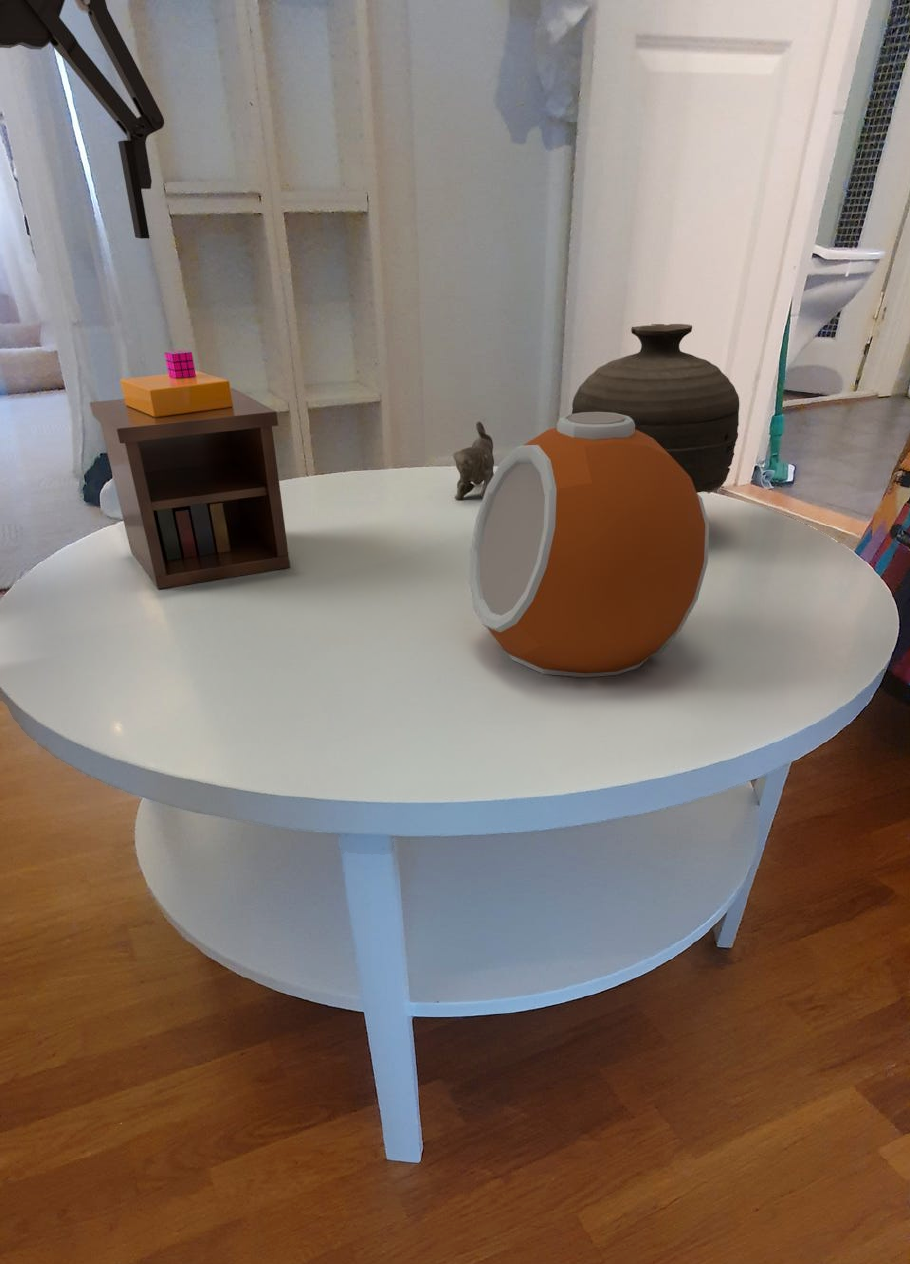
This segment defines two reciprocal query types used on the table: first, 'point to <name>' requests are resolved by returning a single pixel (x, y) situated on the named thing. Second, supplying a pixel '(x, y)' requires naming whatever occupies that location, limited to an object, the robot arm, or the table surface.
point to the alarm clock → (588, 548)
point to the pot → (671, 402)
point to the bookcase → (197, 489)
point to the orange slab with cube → (177, 389)
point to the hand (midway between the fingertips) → (64, 240)
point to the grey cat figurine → (475, 464)
